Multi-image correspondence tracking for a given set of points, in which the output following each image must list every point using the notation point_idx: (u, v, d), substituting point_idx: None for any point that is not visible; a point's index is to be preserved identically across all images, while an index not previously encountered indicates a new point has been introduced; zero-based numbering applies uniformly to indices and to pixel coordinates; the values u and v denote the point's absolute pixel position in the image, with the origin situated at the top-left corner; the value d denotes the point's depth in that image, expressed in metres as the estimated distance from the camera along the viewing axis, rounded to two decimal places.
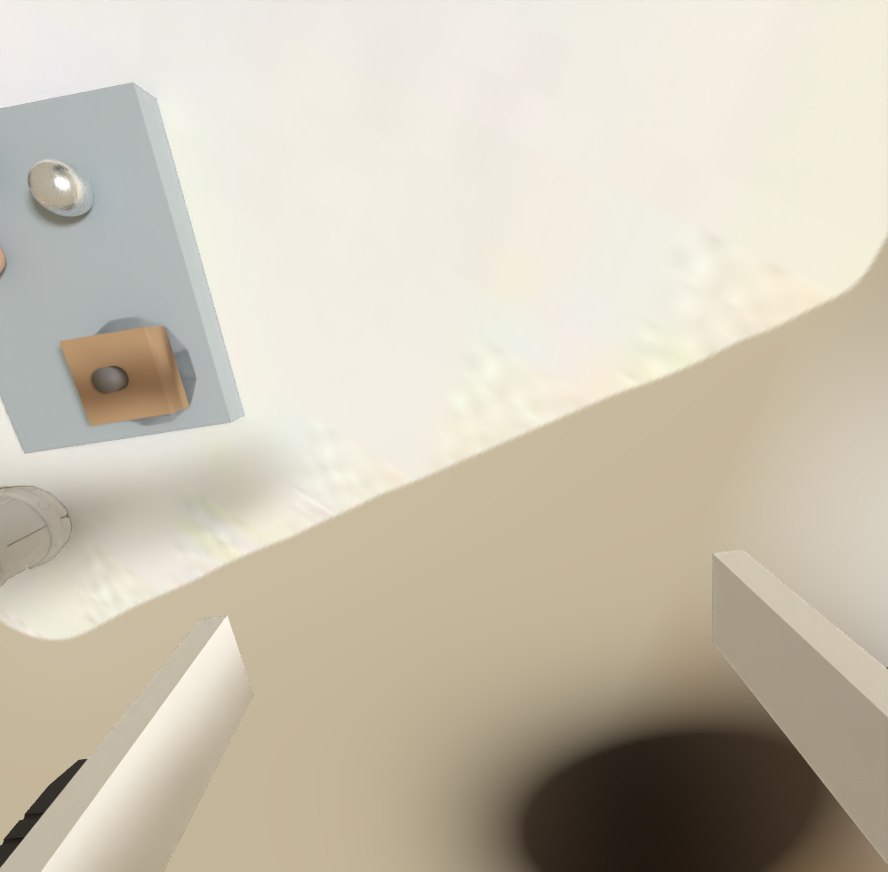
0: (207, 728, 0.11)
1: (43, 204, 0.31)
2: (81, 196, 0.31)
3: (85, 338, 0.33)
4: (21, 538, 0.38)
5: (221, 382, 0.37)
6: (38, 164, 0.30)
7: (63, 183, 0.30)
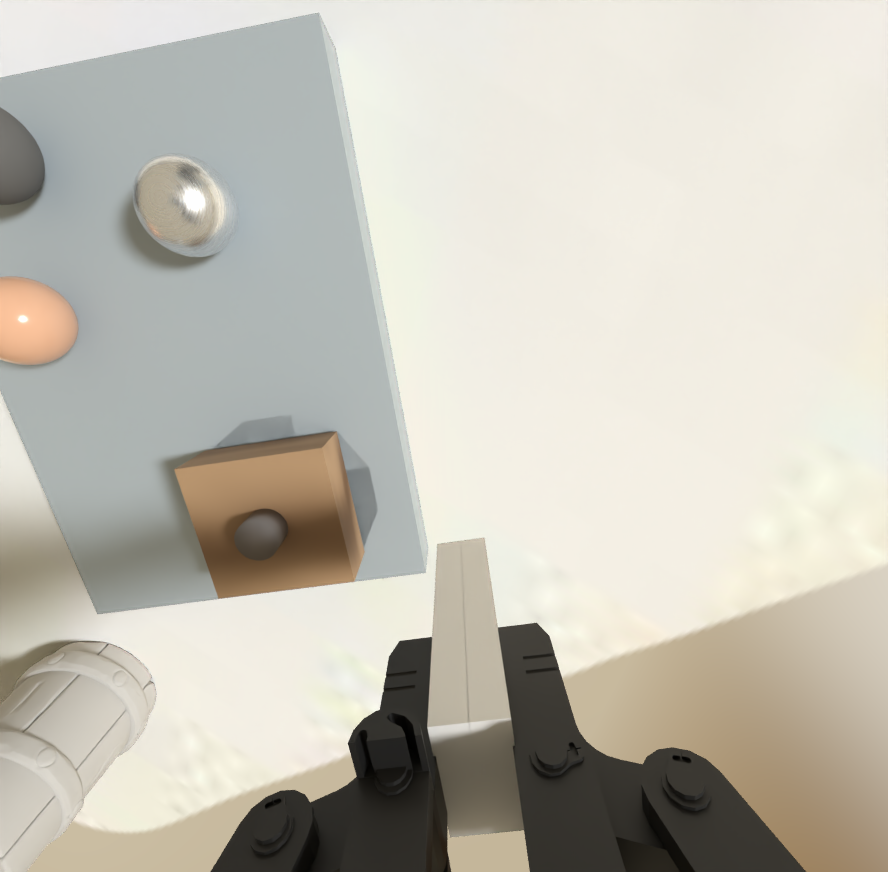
0: None
1: (159, 238, 0.17)
2: (226, 222, 0.17)
3: (219, 465, 0.19)
4: (95, 747, 0.25)
5: (415, 514, 0.23)
6: (156, 165, 0.16)
7: (200, 200, 0.16)
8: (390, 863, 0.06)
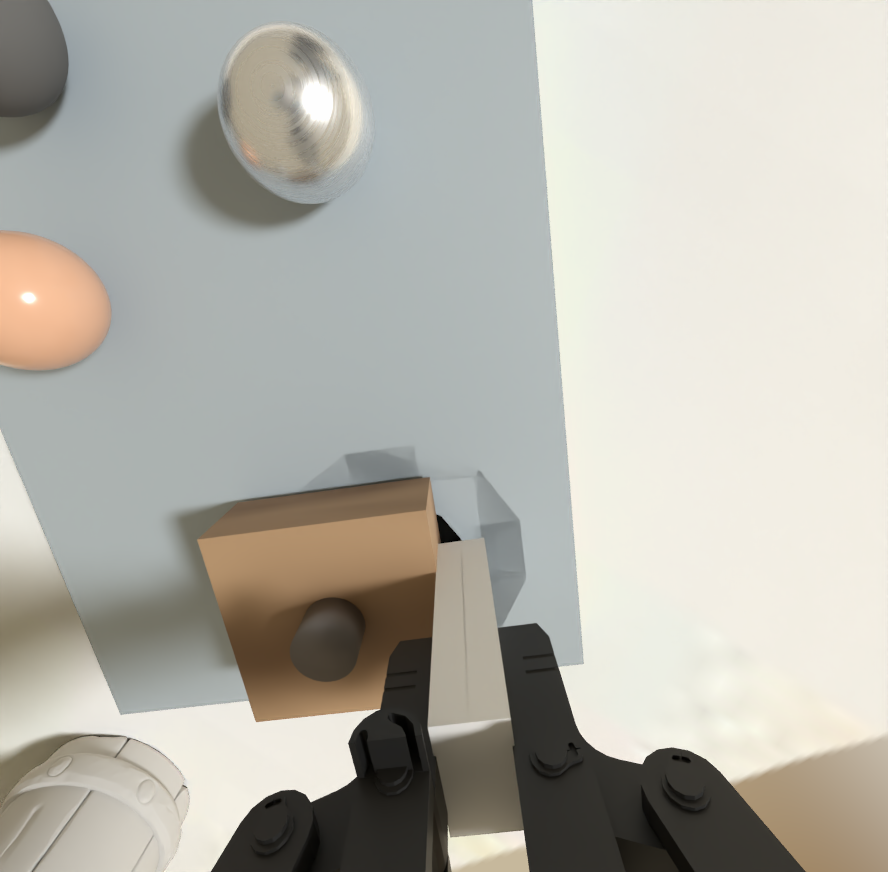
0: None
1: (259, 164, 0.10)
2: (363, 143, 0.10)
3: (267, 534, 0.13)
4: None
5: (575, 584, 0.16)
6: (266, 32, 0.09)
7: (336, 97, 0.10)
8: (390, 863, 0.06)
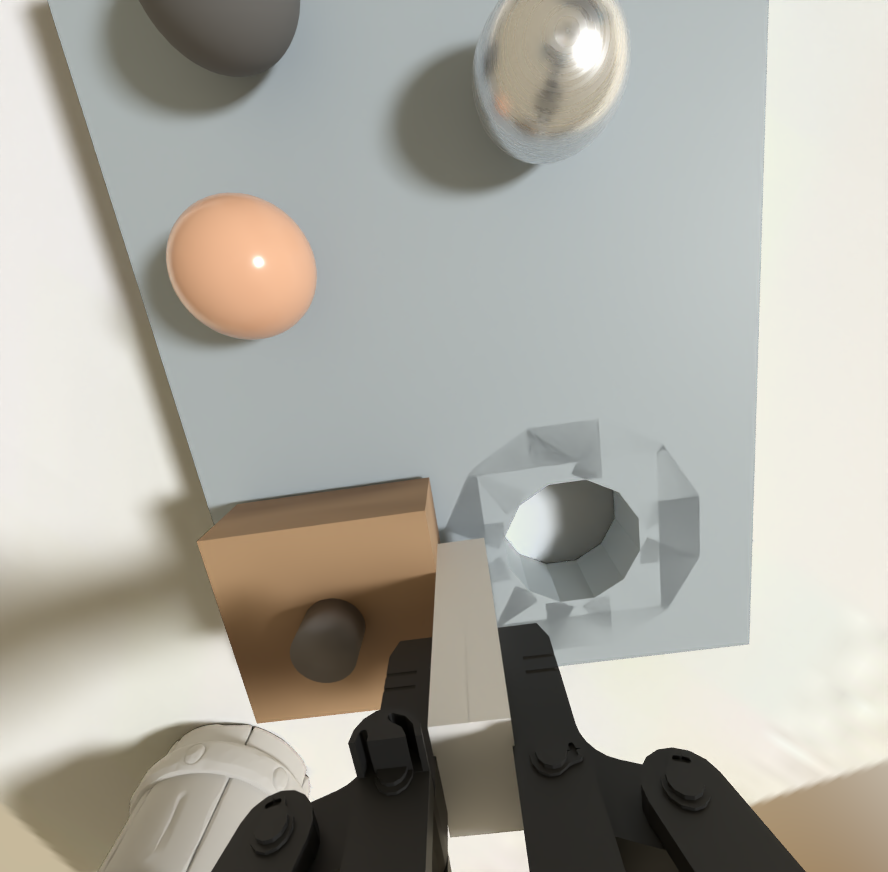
0: None
1: (524, 118, 0.10)
2: (621, 97, 0.10)
3: (266, 536, 0.13)
4: None
5: (747, 562, 0.16)
6: None
7: (619, 44, 0.09)
8: (390, 863, 0.06)
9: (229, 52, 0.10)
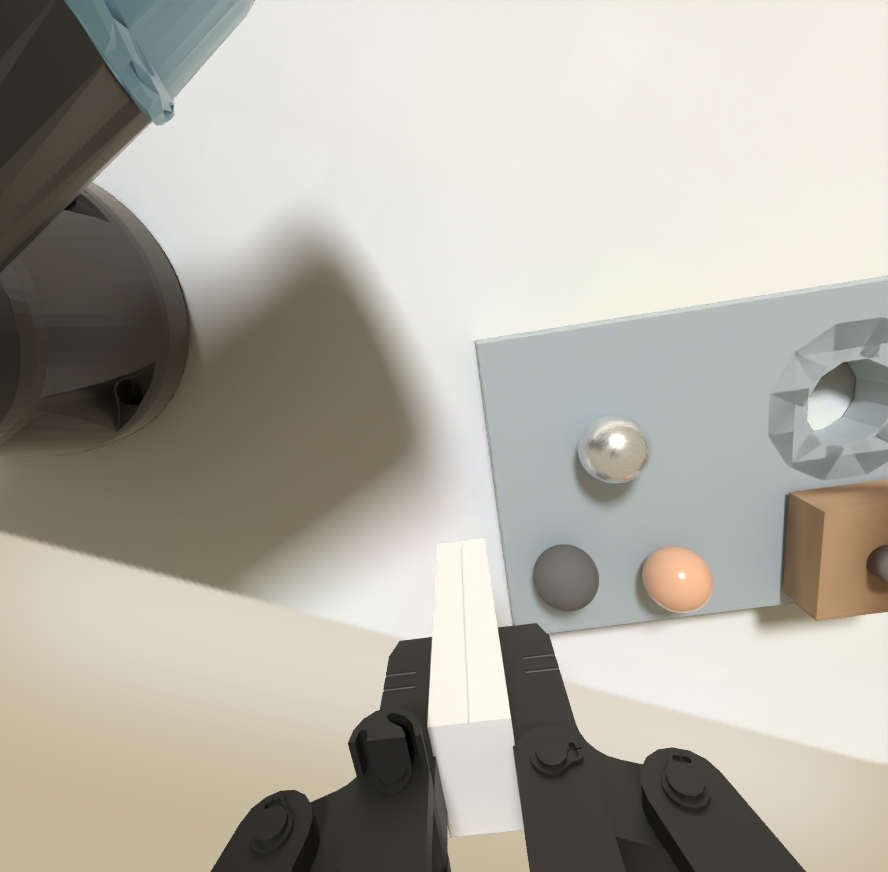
0: None
1: (645, 468, 0.22)
2: (633, 420, 0.22)
3: (821, 588, 0.24)
4: None
5: None
6: (600, 460, 0.22)
7: (626, 433, 0.21)
8: (391, 863, 0.06)
9: (598, 577, 0.24)
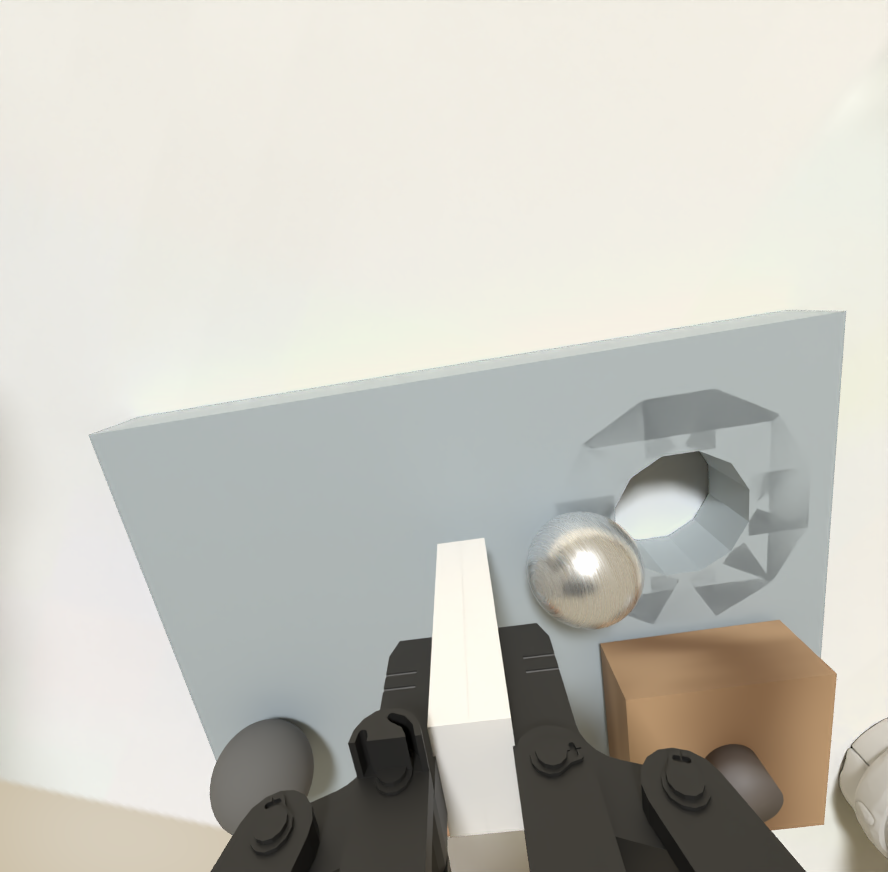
0: None
1: (583, 623, 0.13)
2: (587, 540, 0.13)
3: None
4: None
5: (731, 328, 0.14)
6: (526, 568, 0.15)
7: (550, 551, 0.13)
8: (390, 863, 0.06)
9: (304, 782, 0.16)
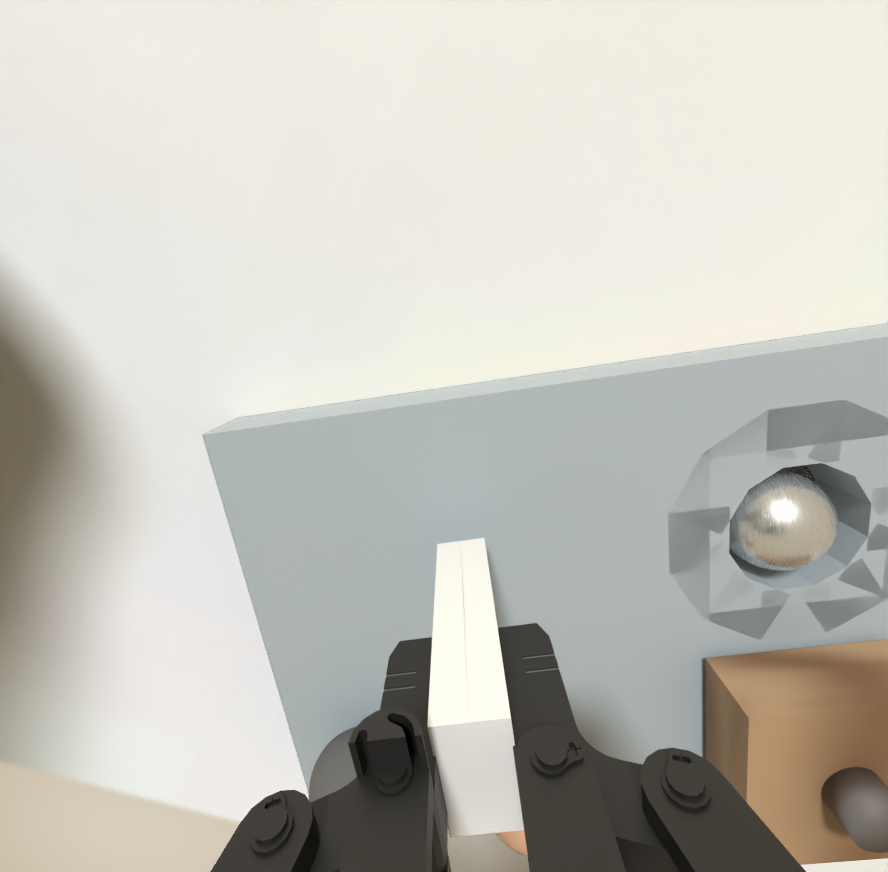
0: None
1: None
2: None
3: None
4: None
5: (863, 338, 0.14)
6: (833, 514, 0.15)
7: None
8: (390, 863, 0.06)
9: None
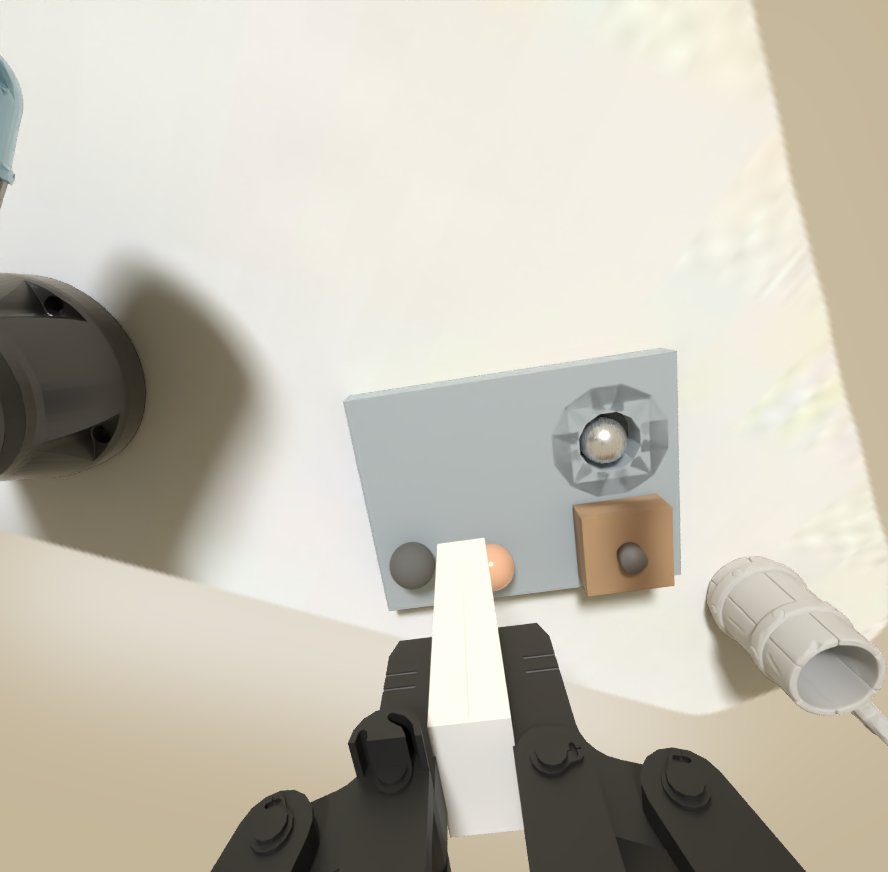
0: None
1: None
2: None
3: (587, 573, 0.34)
4: (784, 590, 0.35)
5: (628, 357, 0.33)
6: (623, 436, 0.33)
7: None
8: (390, 863, 0.06)
9: (433, 565, 0.34)
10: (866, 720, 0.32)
